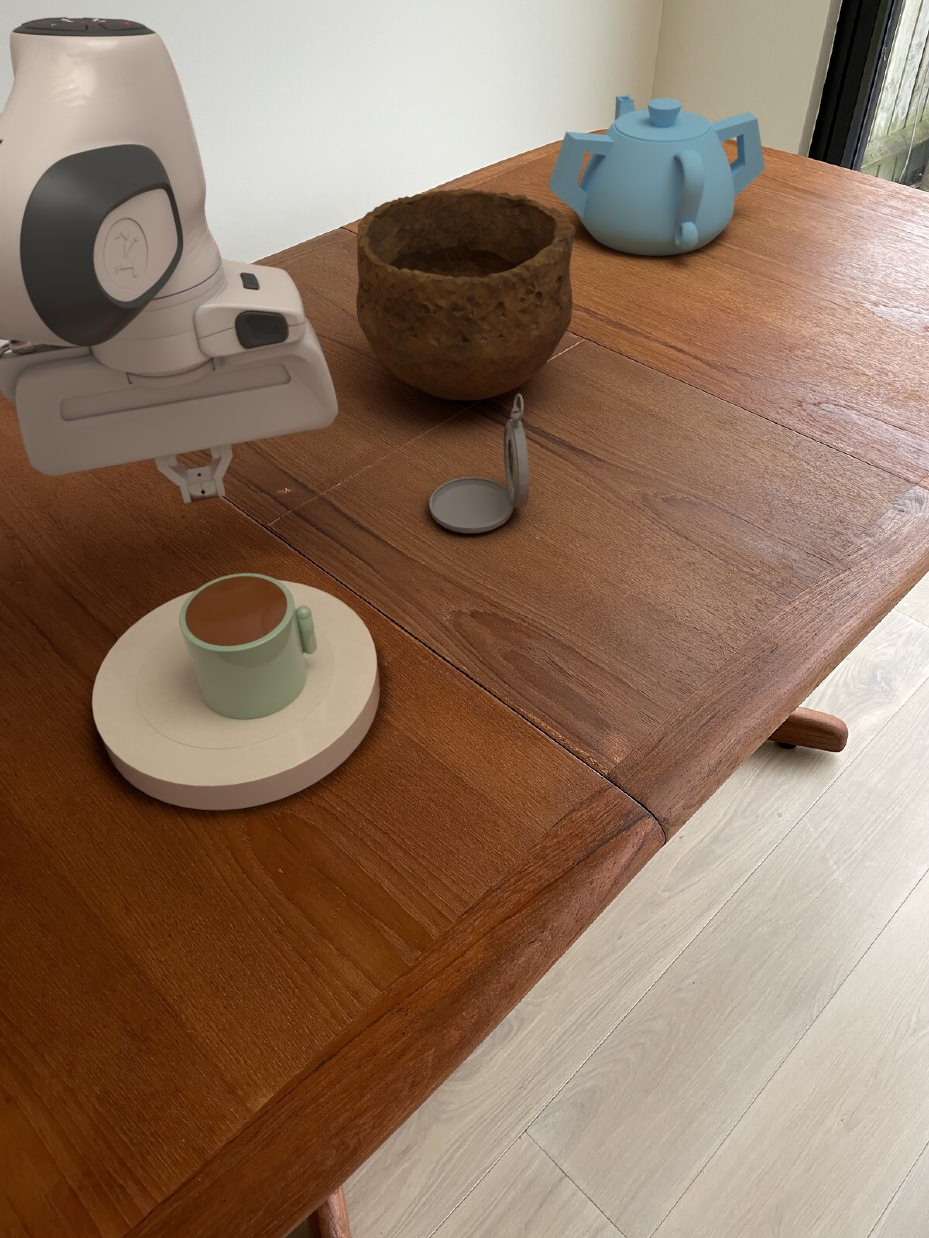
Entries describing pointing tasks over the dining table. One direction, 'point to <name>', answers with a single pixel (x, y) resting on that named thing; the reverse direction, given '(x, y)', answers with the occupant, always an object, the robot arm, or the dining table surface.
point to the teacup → (247, 644)
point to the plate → (227, 747)
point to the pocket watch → (487, 488)
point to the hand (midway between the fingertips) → (204, 495)
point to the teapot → (657, 177)
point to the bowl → (464, 289)
